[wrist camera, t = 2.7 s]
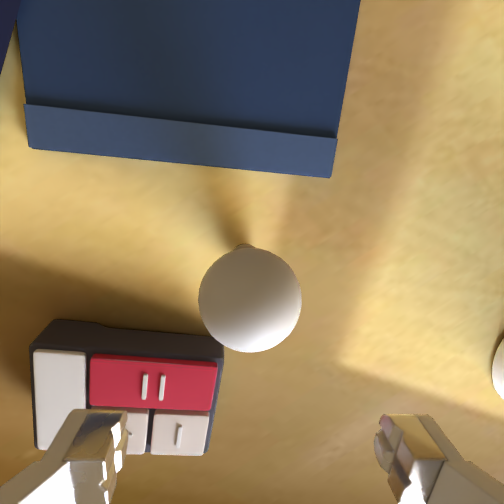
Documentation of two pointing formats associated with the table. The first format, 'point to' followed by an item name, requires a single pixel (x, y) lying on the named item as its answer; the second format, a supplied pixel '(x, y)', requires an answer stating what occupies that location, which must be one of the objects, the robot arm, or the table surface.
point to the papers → (7, 25)
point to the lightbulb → (249, 299)
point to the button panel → (127, 383)
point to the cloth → (189, 80)
